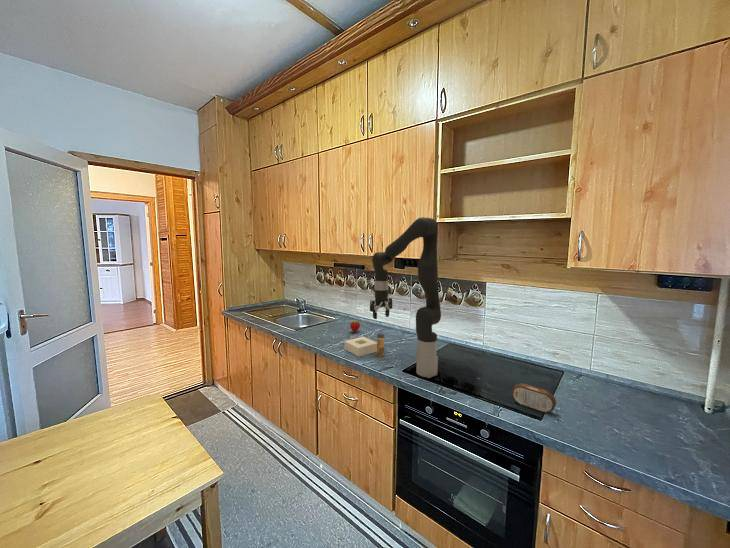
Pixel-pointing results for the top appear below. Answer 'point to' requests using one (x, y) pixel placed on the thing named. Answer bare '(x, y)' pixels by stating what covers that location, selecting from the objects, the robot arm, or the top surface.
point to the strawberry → (355, 326)
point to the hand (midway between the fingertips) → (381, 317)
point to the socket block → (361, 346)
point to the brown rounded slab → (534, 398)
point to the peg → (380, 345)
